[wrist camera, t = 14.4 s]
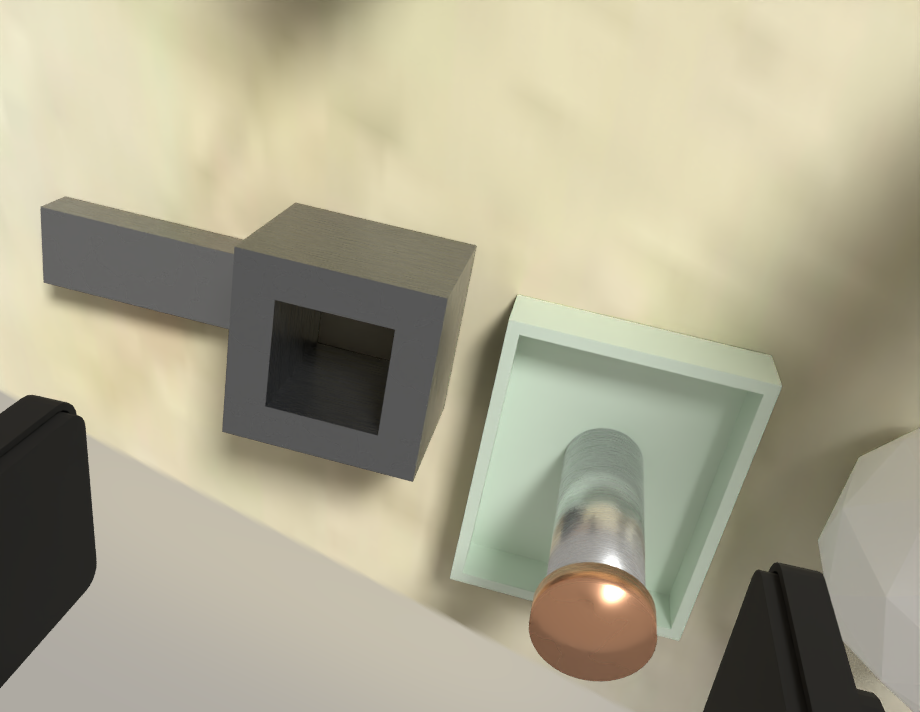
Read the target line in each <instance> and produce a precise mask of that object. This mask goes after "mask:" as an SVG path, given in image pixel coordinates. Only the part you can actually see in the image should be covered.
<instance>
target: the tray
mask: <svg viewBox="0 0 920 712" xmlns="http://www.w3.org/2000/svg"><path fill="white" fill-rule="evenodd" d="M781 388H782V384H781V381H780V378H779V375H778V372H777V370H776V367H775V364H774V361H773V358H772V356H771V355H767V354H763V353H759V352H755V351H750V350H746V349H742V348H738V347H734V346H730V345H726V344H721V343H717V342H713V341H709V340H705V339H701V338H697V337H692V336H688V335H684V334H680V333H676V332H672V331H668V330H663V329H659V328H655V327H651V326H647V325H643V324H639V323H634V322H630V321H626V320H622V319H618V318H614V317H609V316H605V315H601V314H597V313H593V312H589V311H585V310H580V309H576V308H572V307H568V306H564V305H560V304H556V303H551V302H547V301H543V300H539V299H535V298H531V297H527V296H522V295H517V298H516V301H515V304H514V306H513V309H512V312H511V315H510V318H509V322H508V326H507V330H506V335H505V339H504V344H503V348H502V352H501V357H500V361H499V365H498V370H497V374H496V378H495V383H494V387H493V392H492V396H491V400H490V405H489V409H488V413H487V418H486V422H485V427H484V431H483V435H482V440H481V444H480V448H479V453H478V457H477V462H476V466H475V470H474V475H473V479H472V483H471V488H470V492H469V496H468V501H467V505H466V510H465V514H464V518H463V523H462V527H461V531H460V536H459V540H458V545H457V549H456V553H455V558H454V562H453V566H452V571H451V575H450V579H452V580H456V581H460V582H463V583H467V584H471V585H474V586H478V587H482V588H485V589H489V590H493V591H496V592H500V593H504V594H508V595H511V596H515V597H519V598H522V599H526V600H530V601H533V597H534V594H535V591H536V589H537V587H538V585H539V584H540V583H541V581H542V580H543V579H544V578H545V577H546V576H547V570H548V563H549V556H550V549H551V542H552V535H553V528H554V521H555V515H556V508H557V501H558V494H559V487H560V480H561V473H562V466H563V460H564V454H565V451H566V448H567V446H568V445H569V443H570V442H571V441H572V440H573V439H574V438H575V437H576V436H577V435H579V434H581V433H582V432H585V431H587V430H591V429H596V428H608V429H613V430H616V431H619V432H622V433H624V434H625V435H627V436H629V437H630V438H631V439H632V440H633V441H634V442H635V443H636V444H637V445H638V447H639V448H640V450H641V453H642V455H643V460H644V521H645V587H646V589H647V590H648V591H649V593H650V594H651V596H652V598H653V601H654V603H655V608H656V620H657V635H658V636H662V637H666V638H669V639H673V640H677V641H679V640H680V638H681V635H682V633H683V631H684V628H685V626H686V623H687V621H688V618H689V616H690V613H691V611H692V608H693V606H694V603H695V601H696V598H697V596H698V593H699V591H700V589H701V586H702V584H703V581H704V579H705V576H706V574H707V571H708V569H709V566H710V564H711V561H712V559H713V556H714V554H715V551H716V549H717V546H718V544H719V542H720V539H721V537H722V534H723V532H724V529H725V527H726V524H727V522H728V519H729V517H730V514H731V512H732V509H733V507H734V504H735V502H736V499H737V497H738V495H739V492H740V490H741V487H742V485H743V482H744V480H745V477H746V475H747V472H748V470H749V467H750V465H751V462H752V460H753V457H754V455H755V453H756V450H757V448H758V445H759V443H760V440H761V438H762V435H763V433H764V430H765V428H766V425H767V423H768V420H769V418H770V415H771V413H772V410H773V408H774V406H775V403H776V401H777V398H778V396H779V393H780V391H781Z"/></svg>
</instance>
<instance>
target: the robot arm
mask: <svg viewBox="0 0 920 712" xmlns="http://www.w3.org/2000/svg"><path fill="white" fill-rule="evenodd" d="M92 514H93V513H92V501H91V490H90V476H89V465H88V453H87V440H86V428H85V422H84V420H83V418H82V417H80V416H78V415H77V414H76V410H75V409H74V407H73V405H71V404H69V403H67V402H62V401H58V400H54V399H49V398H45V397H40V396H36V395H27V396H25V397H23V398H21V399H20V400H19V401H17V402H16V403H14V404H13V405H12V406H10V407H9V408H7V409H6V410H5V411H3V412H2V413H1V414H0V688H1V687H2V686H3V684H4V683H5V682H6V681H7V680H8V679H9V678H10V676H11V675H12V674H13V673H14V672H15V671H16V670H17V669H18V667H19V666H20V665H21V664H22V663H23V662H24V661H25V659H26V658H27V657H28V656H29V655H30V654H31V652H32V651H33V650H34V649H35V648H36V647H37V646H38V645H39V644H40V642H41V641H42V640H43V639H44V638H45V637H46V636H47V634H48V633H49V632H50V631H51V630H52V629H53V628H54V626H55V625H56V624H57V623H58V622H59V621H60V620H61V618H62V617H63V616H64V615H65V614H66V613H67V612H68V611H69V609H70V608H71V607H72V606H73V605H74V604H75V603H76V601H77V600H78V599H79V598H80V597H81V596H82V595H83V594H84V592H85V591H86V590H87V589H88V587H89V586H90V584H91V582H92V580H93V578H94V575H95V571H96V549H95V537H94V526H93V515H92ZM703 712H885V711H884V708H883V706H882V704H881V702H880V699H879V698H878V697H877V696H876V695H875V694H874V693H871V692H867V691H863V690H859V689H856V686H855V683H854V679H853V675H852V672H851V668H850V665H849V661H848V658H847V654H846V651H845V647H844V644H843V640H842V637H841V633H840V630H839V626H838V623H837V619H836V616H835V612H834V609H833V605H832V602H831V598H830V595H829V591H828V588H827V584H826V581H825V578H824V576H823V574H822V573H820V572H818V571H813V570H809V569H804V568H800V567H796V566H791V565H787V564H782V563H778V562H777V563H774V564H773V565H772V566H771V568H770V570H769V572H766V571H762V570H756V572H755V573H754V575H753V577H752V579H751V582H750V585H749V587H748V590H747V593H746V596H745V598H744V601H743V604H742V607H741V609H740V612H739V615H738V618H737V620H736V623H735V626H734V628H733V631H732V634H731V637H730V639H729V642H728V645H727V648H726V650H725V653H724V656H723V659H722V661H721V664H720V667H719V670H718V672H717V675H716V678H715V680H714V683H713V686H712V689H711V691H710V694H709V697H708V700H707V702H706V705H705V708H704V711H703Z"/></svg>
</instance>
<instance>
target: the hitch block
mask: <svg viewBox="0 0 920 712" xmlns="http://www.w3.org/2000/svg"><path fill="white" fill-rule="evenodd" d="M41 229H42V253H43V277H44V283H48V284H52V285H56V286H60V287H64V288H68V289H72V290H76V291H80V292H84V293H88V294H92V295H96V296H100V297H104V298H108V299H111V300H115V301H119V302H123V303H127V304H131V305H135V306H139V307H143V308H147V309H151V310H155V311H159V312H163V313H167V314H171V315H175V316H179V317H183V318H187V319H191V320H195V321H199V322H203V323H207V324H211V325H215V326H219V327H223V328H227V329H229V338H228V353H227V369H226V384H225V399H224V414H223V430H222V432H226V433H229V434H233V435H237V436H241V437H245V438H248V439H252V440H256V441H260V442H264V443H267V444H271V445H275V446H279V447H283V448H286V449H290V450H294V451H298V452H302V453H305V454H309V455H313V456H317V457H321V458H324V459H328V460H332V461H336V462H340V463H343V464H347V465H351V466H355V467H359V468H362V469H366V470H370V471H374V472H378V473H381V474H385V475H389V476H393V477H397V478H400V479H404V480H408V481H412V482H413V480H414V478H415V476H416V473H417V471H418V468H419V466H420V464H421V461H422V459H423V457H424V454H425V452H426V449H427V447H428V445H429V442H430V440H431V438H432V435H433V433H434V430H435V428H436V426H437V423H438V421H439V419H440V416H441V414H442V411H443V409H444V405H445V400H446V395H447V390H448V386H449V381H450V376H451V371H452V366H453V361H454V356H455V351H456V346H457V341H458V336H459V331H460V326H461V321H462V316H463V311H464V306H465V301H466V296H467V291H468V286H469V281H470V276H471V271H472V266H473V261H474V256H475V251H476V246H475V245H471V244H467V243H463V242H458V241H454V240H450V239H446V238H442V237H437V236H433V235H429V234H425V233H421V232H416V231H412V230H408V229H404V228H399V227H395V226H391V225H387V224H383V223H378V222H374V221H370V220H366V219H362V218H357V217H353V216H349V215H345V214H340V213H336V212H332V211H328V210H324V209H319V208H315V207H311V206H307V205H302V204H298V203H294V204H293V205H292V206H290V207H289V208H287V209H286V210H285V211H283V212H282V213H280V214H279V215H278V216H276V217H275V218H274V219H272V220H271V221H269V222H268V223H267V224H265V225H264V226H262V227H261V228H260V229H258V230H257V231H256V232H254V233H253V234H251V235H250V236H249V237H247V238H246V239H244V240H242V239H238V238H234V237H230V236H226V235H221V234H217V233H213V232H209V231H205V230H201V229H197V228H193V227H188V226H184V225H180V224H176V223H172V222H168V221H164V220H160V219H155V218H151V217H147V216H143V215H139V214H135V213H131V212H127V211H122V210H118V209H114V208H110V207H106V206H102V205H98V204H94V203H89V202H85V201H81V200H77V199H73V198H69V197H63V198H61V199H58V200H56V201H53V202H51V203H49V204H46V205H44V206H41ZM321 311H322V312H326V313H330V314H334V315H338V316H342V317H346V318H350V319H354V320H358V321H362V322H366V323H370V324H374V325H378V326H382V327H386V328H390V329H394V330H395V333H394V340H393V346H392V352H391V358H390V361H388V360H384V359H380V358H376V357H372V356H368V355H364V354H360V353H356V352H352V351H348V350H344V349H340V348H336V347H332V346H328V345H324V344H320V343H318V334H319V326H320V317H321Z"/></svg>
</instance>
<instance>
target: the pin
mask: <svg viewBox="0 0 920 712" xmlns="http://www.w3.org/2000/svg"><path fill="white" fill-rule="evenodd" d="M529 633H530V637H531V641H532V643H533V645H534V647H535V649H536V650H537V652H538V653H539V655H540V656H541V657H542V658H543V659H544V660H545V661H546V662H547V663H548V664H550V665H551V666H552V667H554V668H555V669H557V670H559V671H560V672H562V673H565V674H567V675H569V676H572V677H575V678H578V679H583V680H589V681H611V680H616V679H620V678H624V677H626V676H629V675H631V674H633V673H635V672H636V671H638V670H639V669H641V668H642V667H643V666H644V665H645V664H646V663H647V662H648V661H649V660H650V658H651V657H652V655H653V653H654V651H655V647H656V643H657V620H656V608H655V603H654V601H653V598H652V596H651V594H650V593H649V591H648V590H647V589H646V587H645V521H644V460H643V455H642V453H641V450H640V448H639V447H638V445H637V444H636V443H635V442H634V441H633V440H632V439H631V438H630V437H629V436H627V435H625V434H624V433H622V432H619V431H616V430H613V429H608V428H596V429H591V430H587V431H585V432H582V433H581V434H579V435H577V436H576V437H575V438H574V439H573V440H572V441H571V442H570V443H569V445H568V446H567V448H566V451H565V454H564V460H563V466H562V473H561V480H560V487H559V494H558V501H557V508H556V515H555V521H554V528H553V535H552V542H551V549H550V556H549V563H548V570H547V576H546V577H545V578H544V579H543V580H542V581H541V583H540V584H539V585H538V587H537V589H536V591H535V594H534V597H533V602H532V608H531V614H530V620H529Z"/></svg>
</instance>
